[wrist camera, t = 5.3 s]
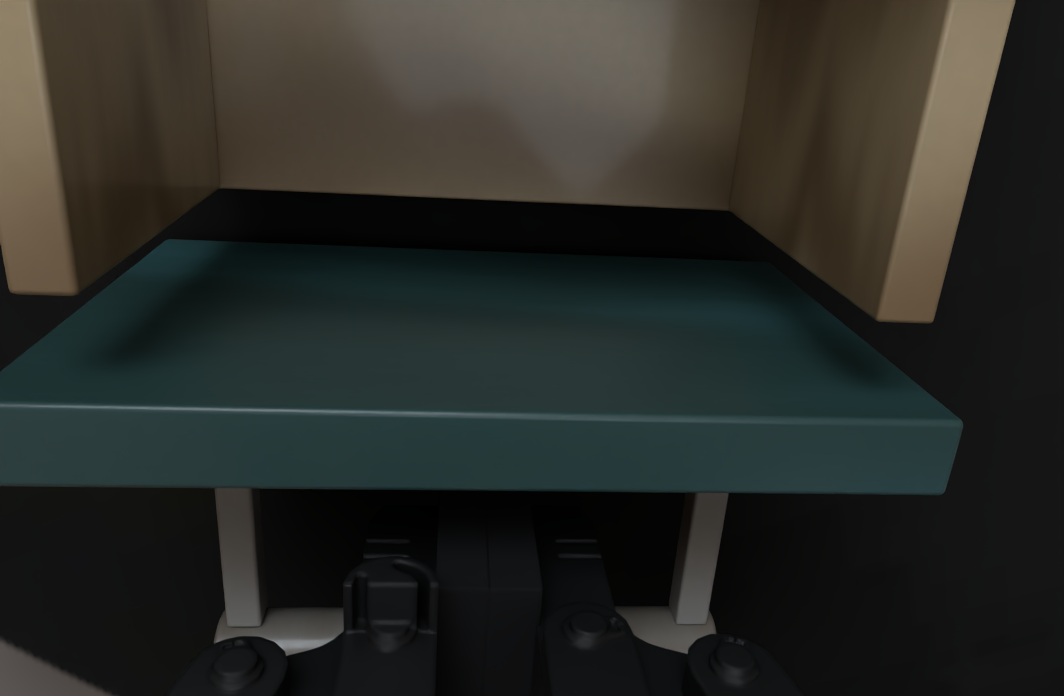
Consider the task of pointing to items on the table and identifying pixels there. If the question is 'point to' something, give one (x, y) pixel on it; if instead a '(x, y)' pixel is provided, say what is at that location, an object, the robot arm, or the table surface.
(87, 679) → the table surface
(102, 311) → the drawer
